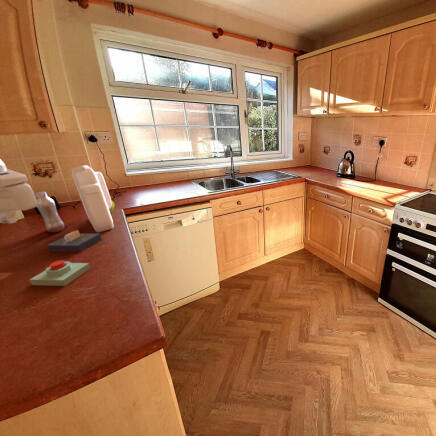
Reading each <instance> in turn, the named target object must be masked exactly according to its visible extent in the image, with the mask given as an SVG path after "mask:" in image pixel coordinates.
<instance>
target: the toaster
mask: <svg viewBox="0 0 436 436" xmlns="http://www.w3.org/2000/svg"><path fill="white" fill-rule="evenodd" d="M70 172H71V177H72V180H73V183H74V186H75V188H76V191H77V193H78V196H79V199H80V201H81V204H82V206H83V209H84V211H85V213H86V217H87V218H88V220H89V222H90V224H91V226H92V229H94V231H95V232H96V233H102V232H105V231H109V230H113V229H114V220H113V217H112V215H111V214H112V213H111V214H110V211H109V208H111V206H112V202H111V201H112V199H111V195H110V192H109V189H108V186H107V183H106V181H105V177H104V176H103V175H104V174H103V173H102V171H94V170H93V169H92V168H91V167H90V165H89V166H88V165H87V164H85V165H80V166H78V167H77V166H76V167H72V168H71V171H70Z"/></svg>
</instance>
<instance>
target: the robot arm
mask: <svg viewBox="0 0 436 436" xmlns="http://www.w3.org/2000/svg"><path fill="white" fill-rule="evenodd" d="M28 181H29V179H28V176H27V175H26V174H24V173H21V172H18V171H16V170H15V171H14V170H12V169H9V168H8V167H7V166H6V163H5V162H4V161H3V160H2V159H1V158H0V223H1V224H15V223H17V221H18V219H16V212H17V211H28V210H32V209H34V208H37V207H36V206H37V197H36V195H35V192H34V191H33V189H32V187H31V186H30V184H29V183H27V182H28Z"/></svg>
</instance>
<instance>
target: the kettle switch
mask: <svg viewBox="0 0 436 436" xmlns="http://www.w3.org/2000/svg"><path fill="white" fill-rule="evenodd" d="M64 262H65V260H61V259H60V260H56V261H53V262H52V263H50V264H49V267H51V269H52V270H57V269H60V268H63V267H64V266H66V265H65V263H64Z"/></svg>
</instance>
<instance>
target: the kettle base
mask: <svg viewBox="0 0 436 436" xmlns="http://www.w3.org/2000/svg"><path fill="white" fill-rule="evenodd" d="M64 263H65V265H66V266H64V267H63V268H60V269H57V270H52V269H51V267H50V266H48V267H46V268H45V270H43V271H42V272H40V273H39V274H36V275H35V276H33V277H32V278H30V279H29V282H30V284H31V286H57V287H59V286H61V287H66V286H68V285H69V284H70V283H72V282H74V281H75V280H76V279H78V278H79V277H80V276H82V275H84V274H85V273H86V272H88V271H89V270H91V269H92V267H91V265H90V263H89V262H71V261H68V260H67V261H65V260H64Z"/></svg>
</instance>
